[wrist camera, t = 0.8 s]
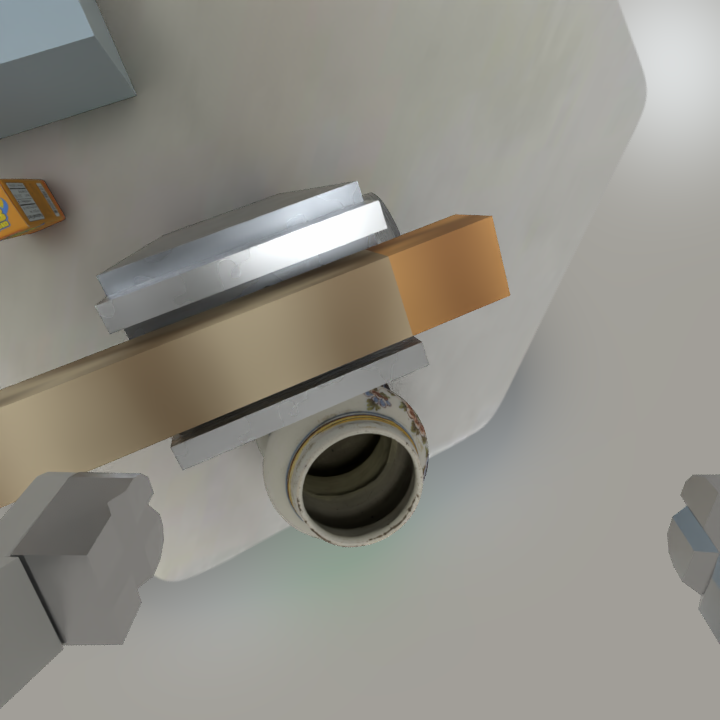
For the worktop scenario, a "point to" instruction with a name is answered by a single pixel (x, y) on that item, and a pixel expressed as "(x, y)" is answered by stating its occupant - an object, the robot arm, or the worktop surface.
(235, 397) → the tan wooden bar
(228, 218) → the housing tower
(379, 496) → the apothecary jar
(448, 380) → the worktop surface
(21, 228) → the supplement box
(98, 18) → the pale blue brick
